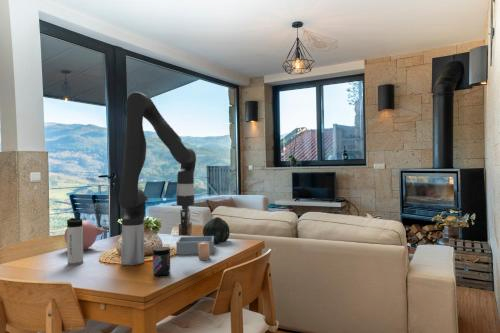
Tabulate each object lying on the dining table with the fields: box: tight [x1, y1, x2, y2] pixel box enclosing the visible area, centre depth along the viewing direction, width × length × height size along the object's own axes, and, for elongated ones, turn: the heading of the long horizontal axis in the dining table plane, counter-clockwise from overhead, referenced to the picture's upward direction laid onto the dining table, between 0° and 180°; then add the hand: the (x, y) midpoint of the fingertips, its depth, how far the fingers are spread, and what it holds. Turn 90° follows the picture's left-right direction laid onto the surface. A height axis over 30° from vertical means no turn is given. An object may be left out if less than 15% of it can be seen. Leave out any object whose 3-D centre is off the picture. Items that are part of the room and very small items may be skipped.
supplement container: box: [152, 246, 171, 278], centre depth 142 cm, size 7×7×10 cm
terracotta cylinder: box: [198, 242, 210, 261], centre depth 167 cm, size 5×5×7 cm
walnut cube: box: [178, 221, 193, 237], centre depth 156 cm, size 5×5×5 cm
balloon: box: [64, 219, 107, 251], centre depth 189 cm, size 15×20×15 cm
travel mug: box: [66, 217, 84, 266], centre depth 161 cm, size 6×7×20 cm
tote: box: [175, 235, 215, 255], centre depth 183 cm, size 18×14×6 cm
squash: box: [202, 216, 231, 244], centre depth 203 cm, size 14×15×15 cm
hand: (185, 233), depth 156 cm, fingers closed on walnut cube, 5 cm apart
